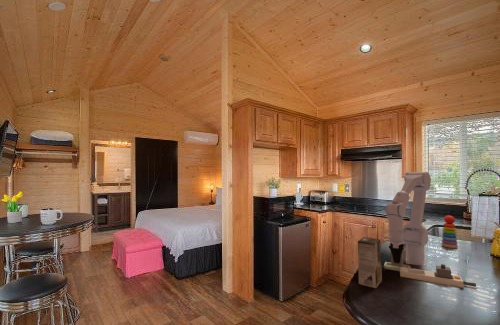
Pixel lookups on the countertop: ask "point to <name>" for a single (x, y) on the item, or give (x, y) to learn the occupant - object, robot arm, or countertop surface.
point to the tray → (391, 267)
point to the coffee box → (369, 262)
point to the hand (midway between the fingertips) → (397, 261)
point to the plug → (397, 263)
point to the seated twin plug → (443, 271)
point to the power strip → (433, 277)
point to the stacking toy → (449, 233)
